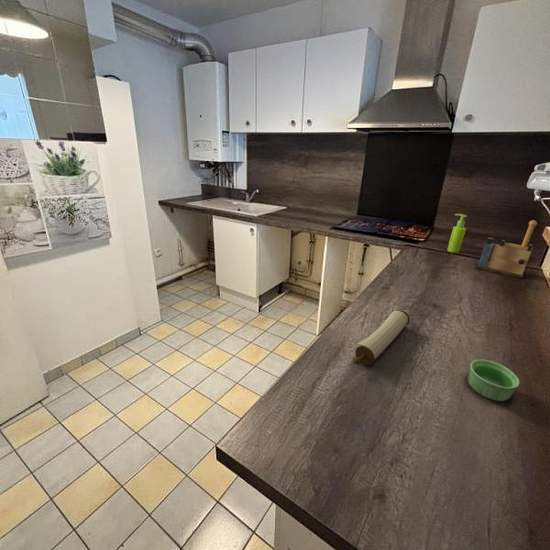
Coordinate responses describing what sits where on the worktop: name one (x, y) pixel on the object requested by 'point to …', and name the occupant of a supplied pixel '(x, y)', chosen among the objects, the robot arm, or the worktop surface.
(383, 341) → the bamboo tube
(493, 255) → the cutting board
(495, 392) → the ramekin
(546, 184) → the robot arm
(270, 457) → the worktop surface
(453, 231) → the soap dispenser
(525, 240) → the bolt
